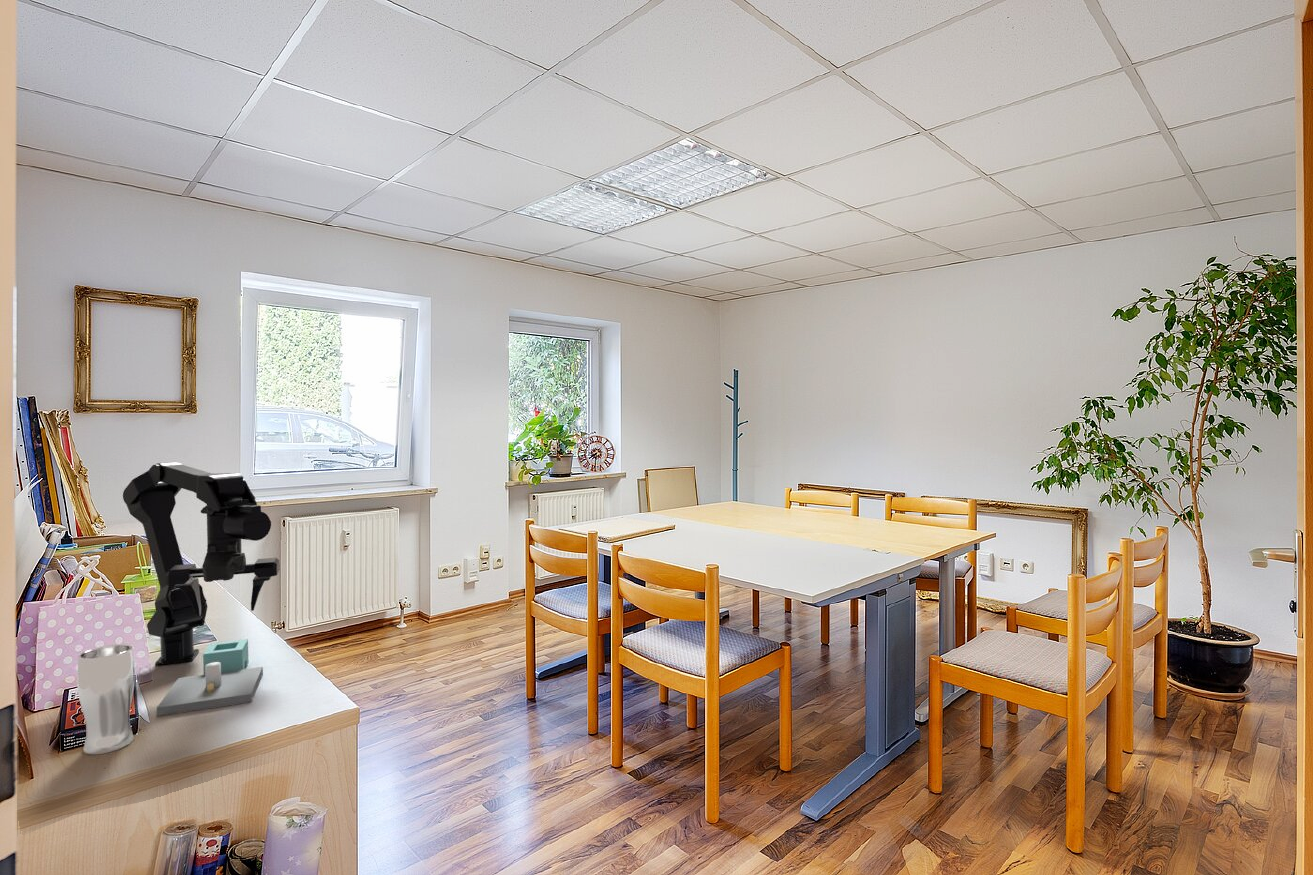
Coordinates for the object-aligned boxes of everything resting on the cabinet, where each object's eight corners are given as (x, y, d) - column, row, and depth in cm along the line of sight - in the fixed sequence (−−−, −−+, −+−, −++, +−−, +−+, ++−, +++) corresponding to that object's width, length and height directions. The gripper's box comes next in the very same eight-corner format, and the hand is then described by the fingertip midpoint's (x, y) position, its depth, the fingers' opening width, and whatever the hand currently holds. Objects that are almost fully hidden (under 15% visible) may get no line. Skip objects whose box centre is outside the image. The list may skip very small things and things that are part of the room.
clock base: (178, 685, 127) (177, 657, 127) (262, 674, 132) (262, 646, 132) (157, 716, 114) (155, 684, 114) (251, 701, 120) (250, 671, 119)
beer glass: (90, 761, 99) (86, 662, 99) (72, 748, 103) (68, 653, 103) (144, 741, 105) (141, 648, 105) (126, 730, 109) (123, 640, 108)
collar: (211, 667, 136) (210, 643, 136) (248, 662, 139) (247, 639, 138) (203, 679, 130) (203, 654, 130) (242, 673, 133) (242, 649, 132)
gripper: (156, 547, 122) (158, 631, 122) (272, 540, 129) (274, 618, 130) (172, 537, 132) (174, 614, 133) (279, 530, 140) (280, 603, 140)
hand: (226, 613), depth 134 cm, fingers open, 9 cm apart
